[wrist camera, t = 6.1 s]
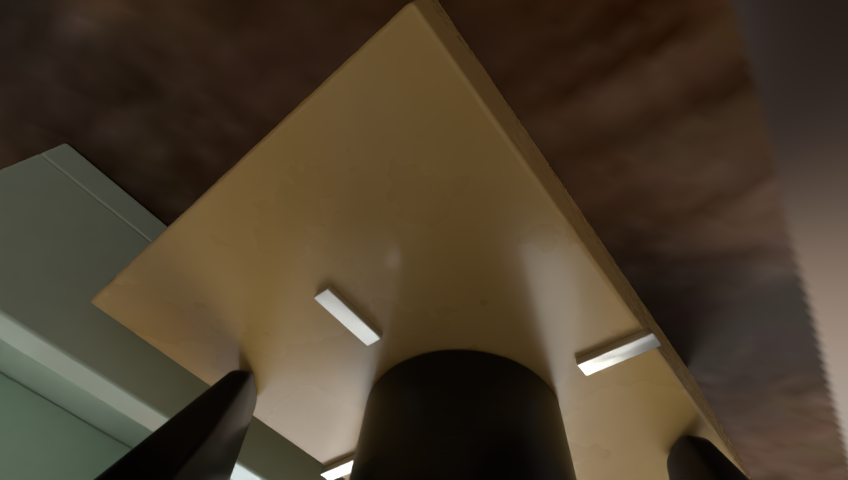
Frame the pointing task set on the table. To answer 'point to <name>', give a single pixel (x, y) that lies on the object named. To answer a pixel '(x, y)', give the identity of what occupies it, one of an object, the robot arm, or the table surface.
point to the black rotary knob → (462, 422)
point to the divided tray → (88, 334)
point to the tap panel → (409, 265)
